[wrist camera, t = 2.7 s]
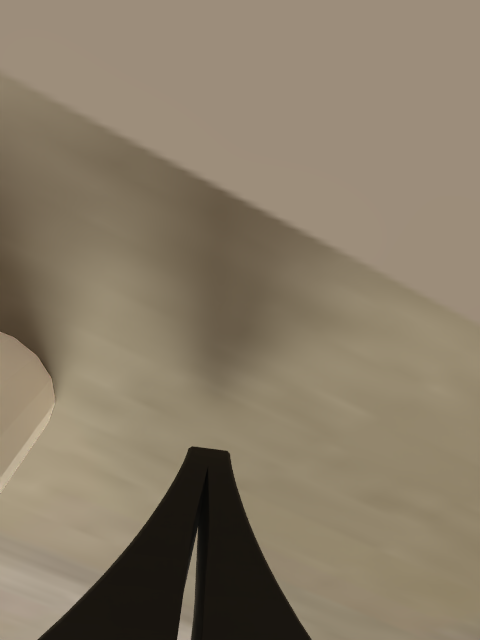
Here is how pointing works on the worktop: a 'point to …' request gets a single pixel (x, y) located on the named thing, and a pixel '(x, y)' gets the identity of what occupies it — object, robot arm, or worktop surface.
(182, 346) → the worktop surface
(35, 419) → the white cylinder
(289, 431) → the worktop surface
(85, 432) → the worktop surface
